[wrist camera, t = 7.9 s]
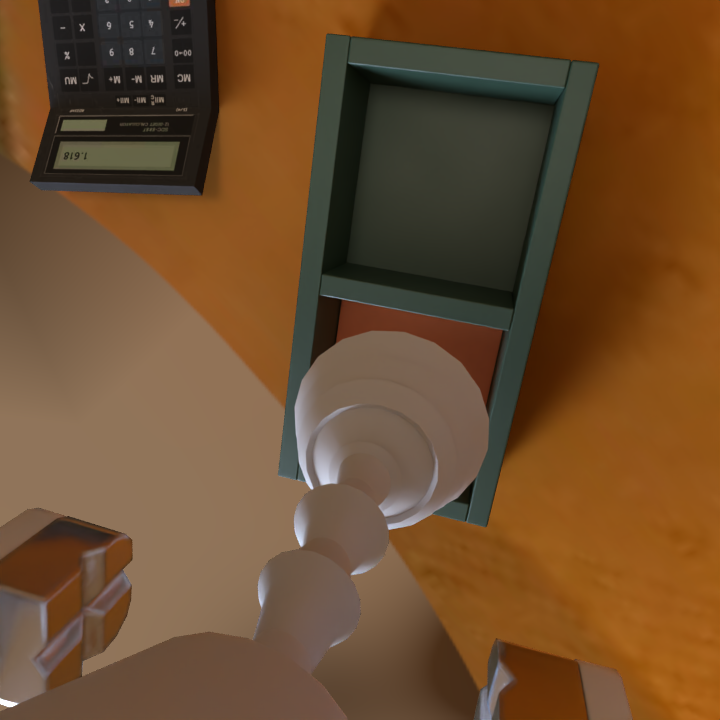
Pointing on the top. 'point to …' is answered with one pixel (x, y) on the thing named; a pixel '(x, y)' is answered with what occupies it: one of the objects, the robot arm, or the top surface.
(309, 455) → the chalice
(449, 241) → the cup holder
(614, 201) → the top surface
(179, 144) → the calculator
